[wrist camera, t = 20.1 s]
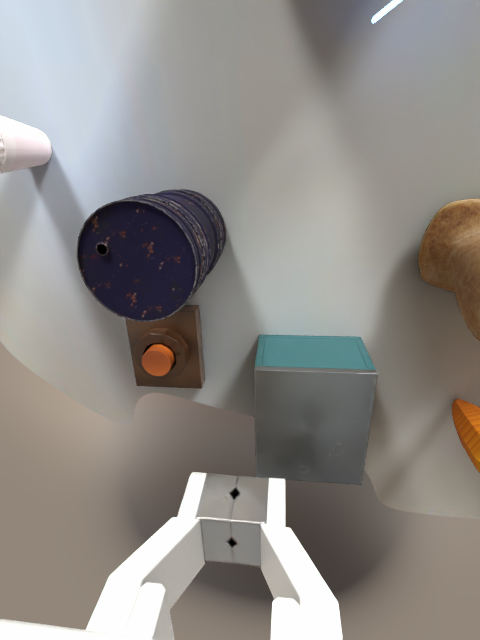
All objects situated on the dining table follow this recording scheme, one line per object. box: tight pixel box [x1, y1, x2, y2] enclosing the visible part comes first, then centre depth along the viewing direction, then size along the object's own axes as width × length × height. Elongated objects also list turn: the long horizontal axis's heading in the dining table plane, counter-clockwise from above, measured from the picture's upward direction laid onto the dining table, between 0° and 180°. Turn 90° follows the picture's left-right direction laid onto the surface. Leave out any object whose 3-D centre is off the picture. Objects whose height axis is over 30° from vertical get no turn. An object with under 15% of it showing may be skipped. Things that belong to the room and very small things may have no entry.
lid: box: [254, 366, 378, 485], centre depth 40 cm, size 15×13×1 cm
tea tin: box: [255, 335, 376, 370], centre depth 44 cm, size 15×13×8 cm
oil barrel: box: [77, 189, 226, 322], centre depth 34 cm, size 10×10×15 cm
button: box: [142, 344, 175, 376], centre depth 43 cm, size 4×4×2 cm
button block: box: [125, 305, 205, 388], centre depth 45 cm, size 11×9×4 cm
